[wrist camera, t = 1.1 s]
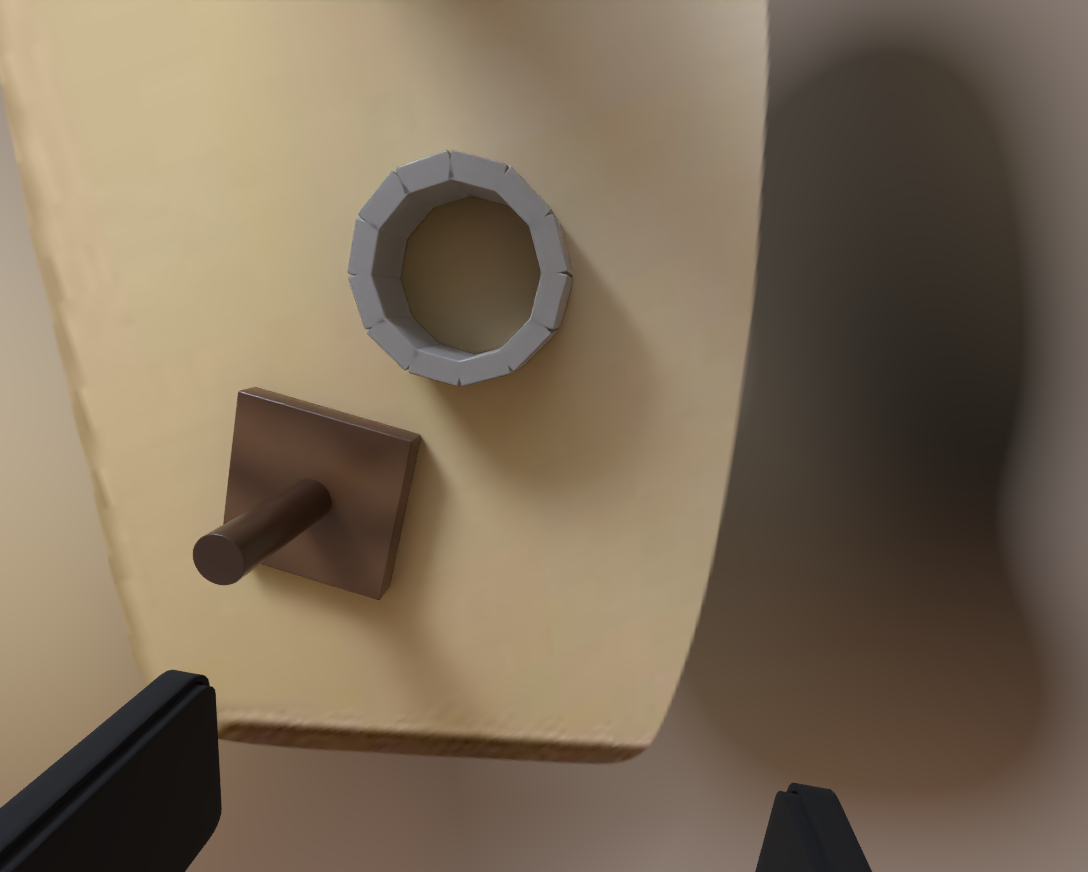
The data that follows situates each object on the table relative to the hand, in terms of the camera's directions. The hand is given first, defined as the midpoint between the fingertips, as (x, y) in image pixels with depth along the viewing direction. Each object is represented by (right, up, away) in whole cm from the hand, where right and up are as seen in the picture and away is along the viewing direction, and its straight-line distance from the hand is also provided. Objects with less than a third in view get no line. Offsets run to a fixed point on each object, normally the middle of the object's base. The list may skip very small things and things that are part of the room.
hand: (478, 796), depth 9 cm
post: (-12, +3, +23) cm, 26 cm away
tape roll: (-3, +14, +19) cm, 24 cm away
